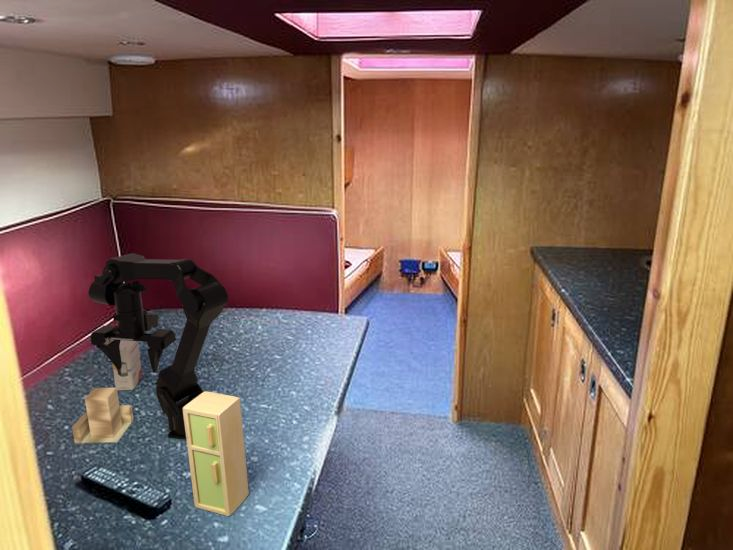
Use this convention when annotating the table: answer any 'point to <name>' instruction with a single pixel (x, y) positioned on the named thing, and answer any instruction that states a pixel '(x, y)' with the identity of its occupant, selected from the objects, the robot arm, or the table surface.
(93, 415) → the maple block
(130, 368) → the ink box
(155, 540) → the table surface
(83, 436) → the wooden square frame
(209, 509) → the toy refrigerator
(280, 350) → the table surface
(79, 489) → the table surface
